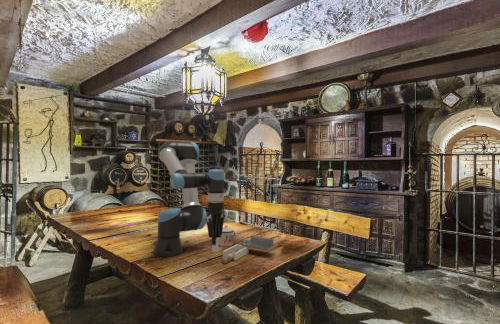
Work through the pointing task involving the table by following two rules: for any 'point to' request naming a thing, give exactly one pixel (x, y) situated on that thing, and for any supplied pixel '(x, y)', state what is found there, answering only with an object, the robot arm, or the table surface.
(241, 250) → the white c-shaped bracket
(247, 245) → the cover
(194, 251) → the table surface
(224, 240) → the teacup with lid
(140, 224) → the table surface
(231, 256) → the dowel
